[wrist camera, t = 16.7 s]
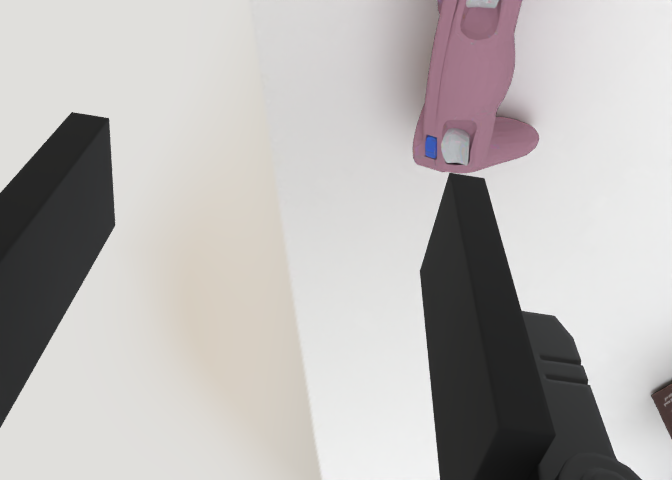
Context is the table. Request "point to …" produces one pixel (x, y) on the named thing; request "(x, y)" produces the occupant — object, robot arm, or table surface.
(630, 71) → the table surface
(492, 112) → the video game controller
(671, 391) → the box
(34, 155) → the robot arm
